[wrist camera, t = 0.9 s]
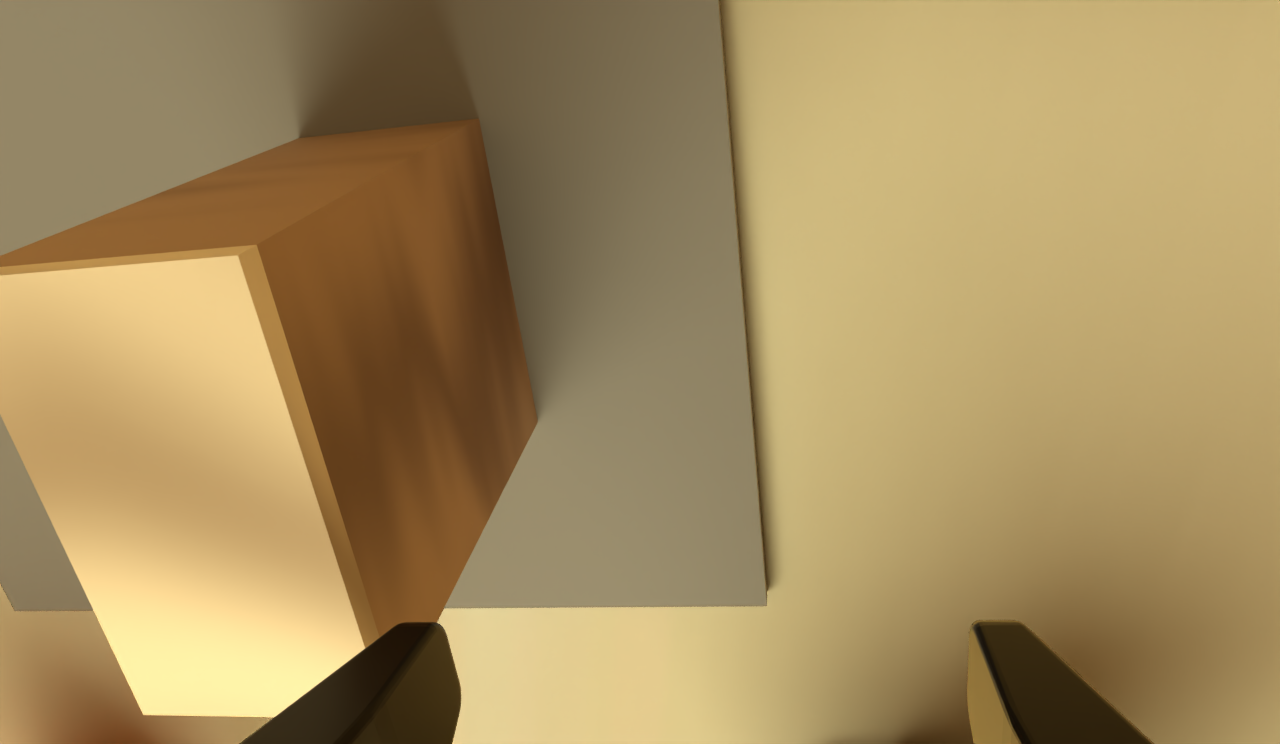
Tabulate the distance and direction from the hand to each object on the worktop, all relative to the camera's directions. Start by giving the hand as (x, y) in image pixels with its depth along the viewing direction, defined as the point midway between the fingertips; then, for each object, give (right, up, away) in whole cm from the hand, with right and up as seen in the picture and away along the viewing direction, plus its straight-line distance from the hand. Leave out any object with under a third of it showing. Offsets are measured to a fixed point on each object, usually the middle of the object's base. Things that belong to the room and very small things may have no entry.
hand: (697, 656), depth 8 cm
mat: (-9, +5, +13) cm, 16 cm away
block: (-5, +5, +12) cm, 13 cm away
